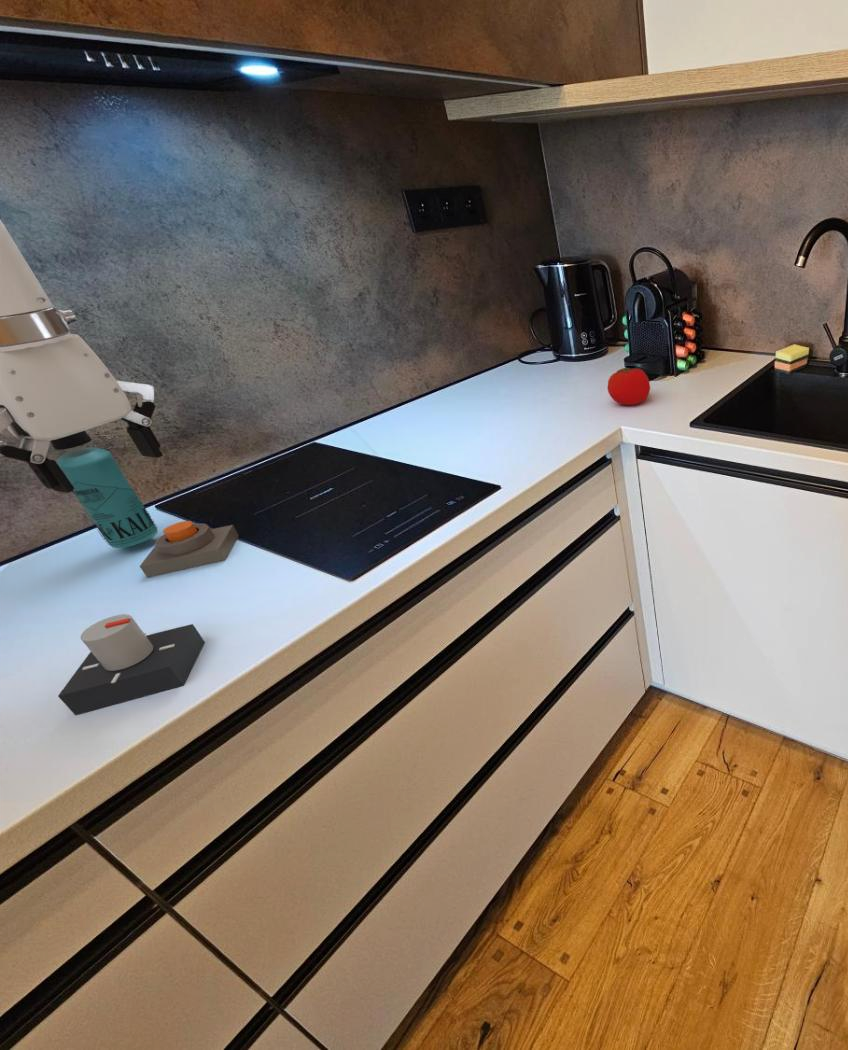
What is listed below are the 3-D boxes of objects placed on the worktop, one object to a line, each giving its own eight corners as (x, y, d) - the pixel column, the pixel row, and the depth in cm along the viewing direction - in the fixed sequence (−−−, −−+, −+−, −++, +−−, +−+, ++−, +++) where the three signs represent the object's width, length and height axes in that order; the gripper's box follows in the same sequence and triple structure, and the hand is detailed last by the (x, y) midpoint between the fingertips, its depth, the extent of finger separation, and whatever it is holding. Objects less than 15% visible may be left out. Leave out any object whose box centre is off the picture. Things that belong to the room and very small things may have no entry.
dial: (97, 676, 64) (70, 643, 62) (114, 650, 68) (89, 618, 65) (145, 663, 66) (120, 631, 63) (159, 639, 69) (137, 607, 67)
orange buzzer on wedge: (147, 578, 86) (132, 556, 84) (167, 551, 93) (153, 530, 91) (225, 560, 89) (212, 538, 87) (239, 535, 96) (227, 514, 94)
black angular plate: (73, 717, 63) (55, 697, 62) (108, 665, 70) (92, 646, 69) (182, 687, 66) (167, 667, 65) (205, 640, 73) (193, 621, 72)
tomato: (659, 401, 139) (656, 366, 135) (624, 413, 134) (619, 377, 129) (637, 393, 145) (633, 359, 141) (602, 404, 140) (597, 369, 136)
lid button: (165, 545, 87) (159, 535, 86) (174, 534, 90) (167, 524, 89) (193, 539, 88) (187, 529, 87) (201, 528, 91) (195, 518, 90)
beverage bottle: (121, 542, 96) (43, 429, 86) (170, 530, 99) (100, 419, 88) (108, 561, 91) (23, 443, 81) (160, 549, 94) (84, 432, 83)
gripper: (89, 313, 71) (165, 442, 80) (-114, 351, 58) (5, 502, 67) (128, 313, 69) (202, 446, 78) (-74, 353, 55) (43, 510, 64)
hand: (111, 472), depth 72 cm, fingers open, 9 cm apart
